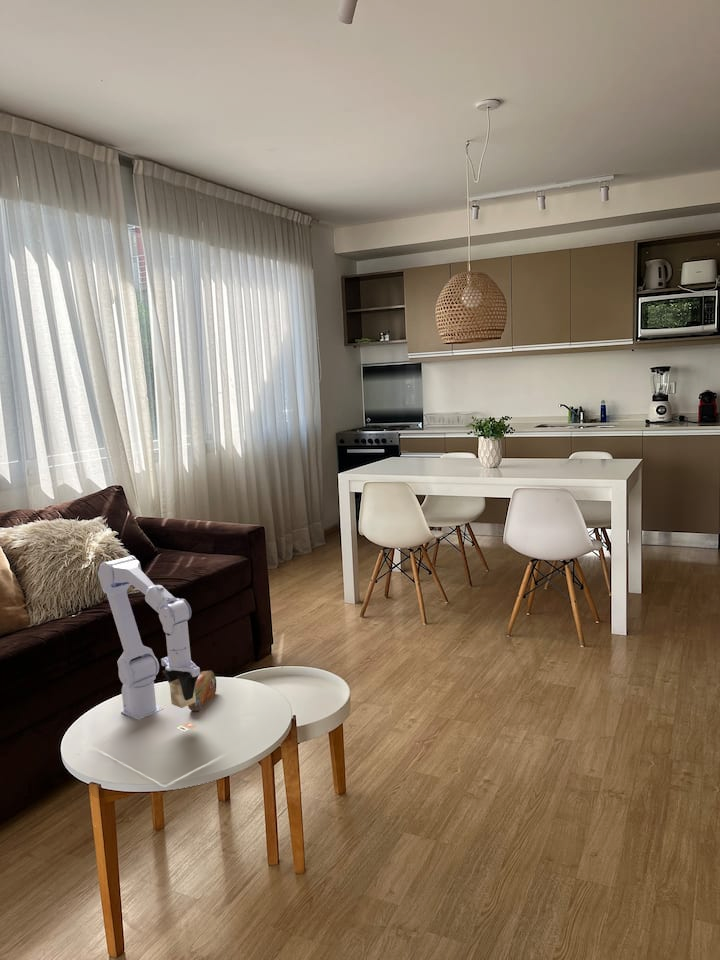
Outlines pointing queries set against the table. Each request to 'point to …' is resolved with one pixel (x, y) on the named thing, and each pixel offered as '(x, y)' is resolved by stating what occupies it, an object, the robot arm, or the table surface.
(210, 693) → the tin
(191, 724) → the mat
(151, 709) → the robot arm
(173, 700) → the birch block
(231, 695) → the table surface
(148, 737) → the table surface
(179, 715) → the table surface
